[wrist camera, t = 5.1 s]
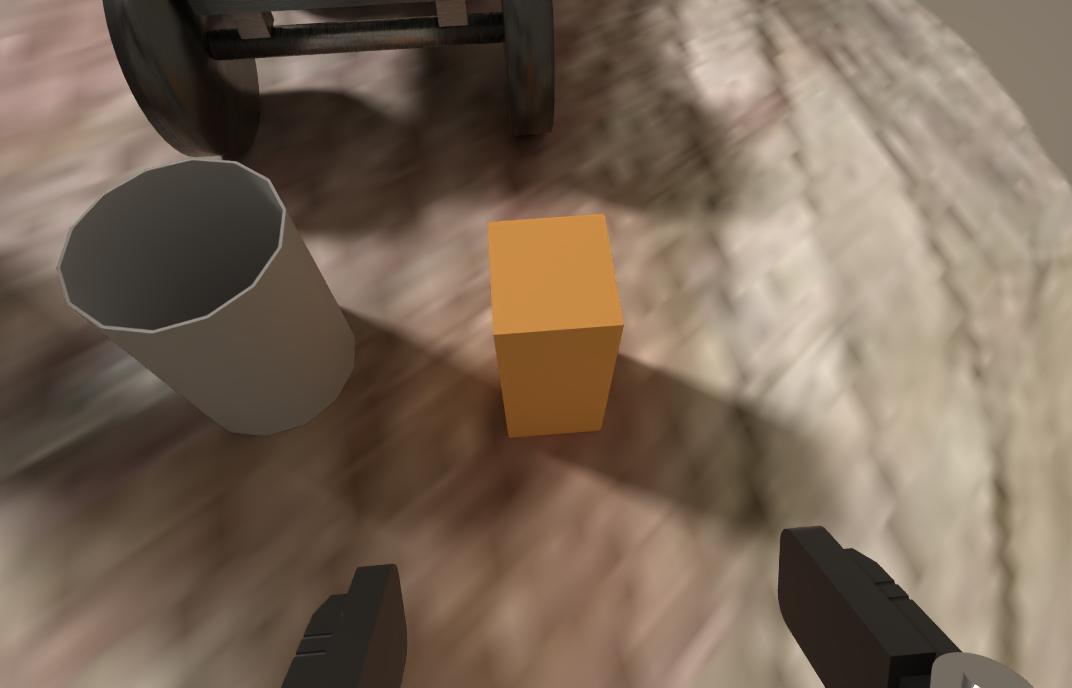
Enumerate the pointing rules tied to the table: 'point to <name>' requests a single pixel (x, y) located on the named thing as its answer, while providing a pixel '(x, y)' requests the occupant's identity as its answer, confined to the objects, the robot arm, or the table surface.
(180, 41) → the trolley
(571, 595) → the table surface
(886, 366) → the table surface
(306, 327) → the cup
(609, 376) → the orange rectangular block
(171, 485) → the table surface
